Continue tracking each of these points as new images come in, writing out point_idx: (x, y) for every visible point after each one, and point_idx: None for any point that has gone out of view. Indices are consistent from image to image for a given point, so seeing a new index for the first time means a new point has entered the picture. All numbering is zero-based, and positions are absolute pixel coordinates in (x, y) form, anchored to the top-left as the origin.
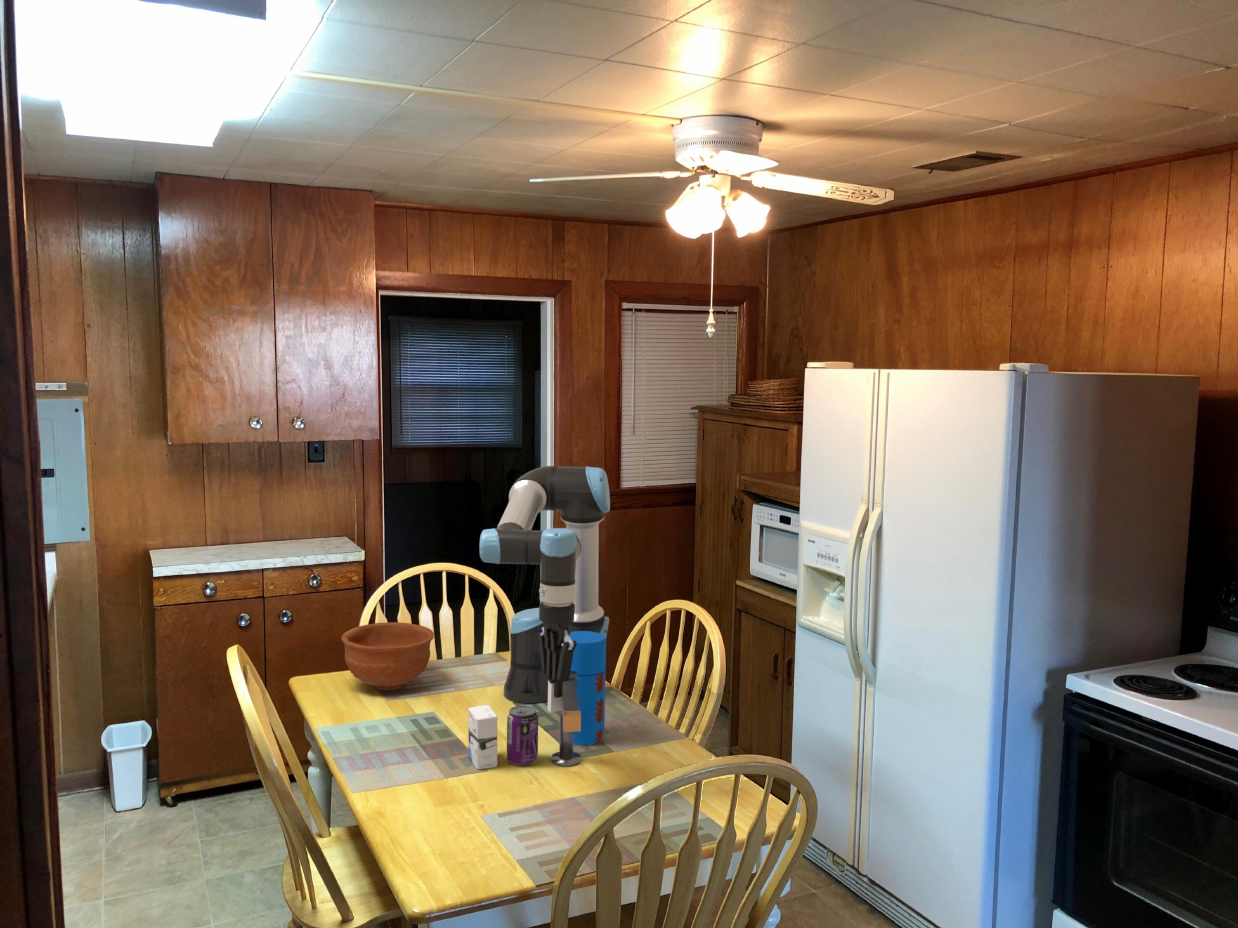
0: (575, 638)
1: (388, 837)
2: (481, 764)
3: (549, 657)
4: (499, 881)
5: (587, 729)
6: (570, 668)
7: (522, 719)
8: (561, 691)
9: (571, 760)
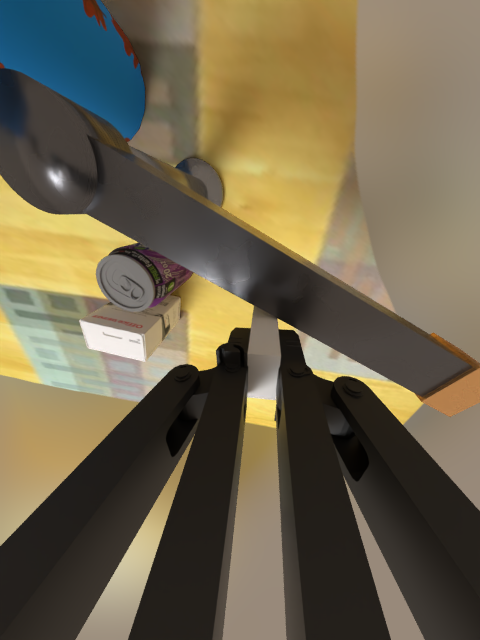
0: None
1: (273, 422)
2: (178, 318)
3: (230, 558)
4: (403, 403)
5: (124, 82)
6: (449, 481)
7: (158, 296)
8: (299, 346)
9: (212, 192)
